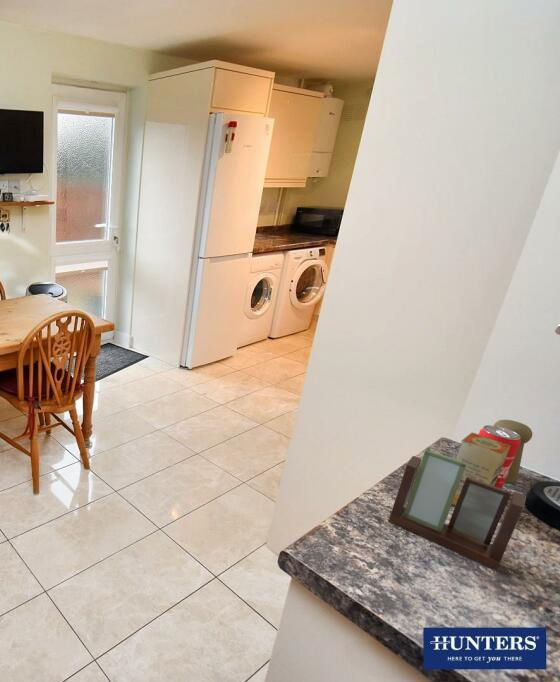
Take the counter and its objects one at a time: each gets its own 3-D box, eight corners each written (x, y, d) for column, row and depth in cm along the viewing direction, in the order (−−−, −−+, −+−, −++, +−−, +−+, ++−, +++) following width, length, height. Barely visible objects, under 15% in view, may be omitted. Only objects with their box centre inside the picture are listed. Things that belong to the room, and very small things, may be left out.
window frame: (388, 521, 73) (406, 464, 70) (394, 511, 76) (412, 455, 72) (496, 570, 64) (523, 507, 60) (499, 556, 66) (526, 495, 63)
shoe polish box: (486, 505, 78) (510, 445, 74) (477, 515, 75) (501, 454, 71) (450, 489, 81) (471, 432, 78) (440, 499, 79) (462, 440, 75)
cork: (524, 478, 85) (545, 428, 81) (506, 485, 83) (527, 434, 79) (485, 461, 90) (503, 413, 87) (467, 467, 88) (486, 418, 85)
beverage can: (487, 483, 83) (509, 427, 80) (505, 500, 79) (530, 441, 75) (454, 478, 85) (474, 422, 81) (470, 495, 80) (493, 437, 76)
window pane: (403, 515, 72) (424, 450, 68) (404, 514, 72) (425, 448, 69) (441, 532, 69) (466, 464, 65) (442, 530, 69) (467, 462, 65)
